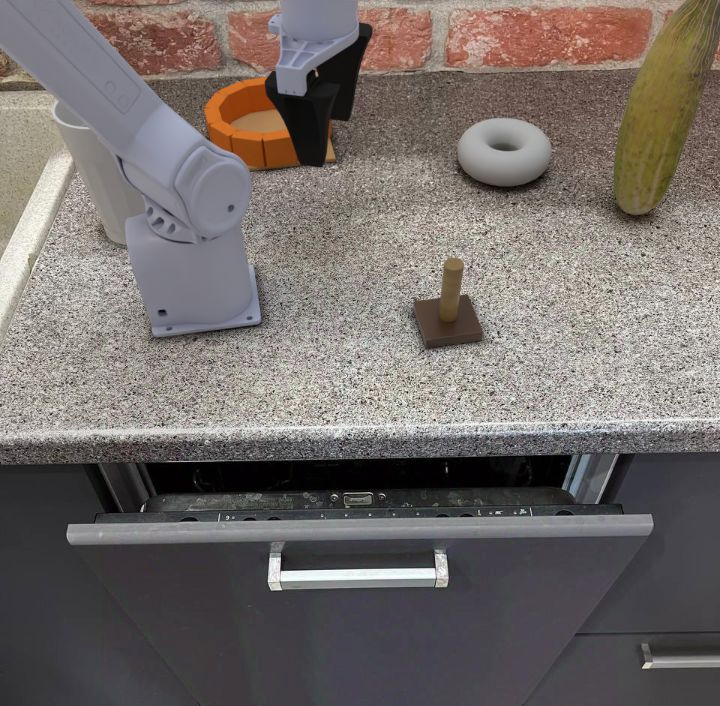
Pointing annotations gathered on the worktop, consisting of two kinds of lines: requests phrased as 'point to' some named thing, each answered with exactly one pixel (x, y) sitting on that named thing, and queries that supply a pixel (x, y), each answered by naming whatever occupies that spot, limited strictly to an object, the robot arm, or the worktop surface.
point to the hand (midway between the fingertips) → (325, 140)
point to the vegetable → (664, 105)
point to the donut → (504, 152)
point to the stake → (448, 312)
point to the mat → (270, 123)
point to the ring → (247, 143)
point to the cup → (99, 174)
